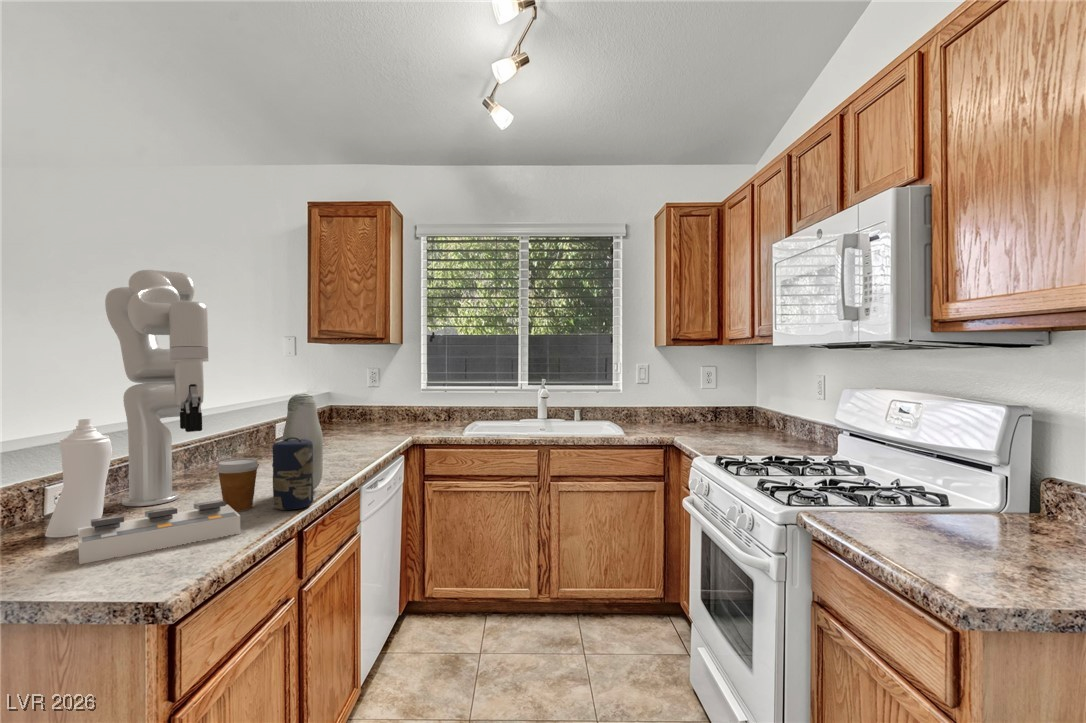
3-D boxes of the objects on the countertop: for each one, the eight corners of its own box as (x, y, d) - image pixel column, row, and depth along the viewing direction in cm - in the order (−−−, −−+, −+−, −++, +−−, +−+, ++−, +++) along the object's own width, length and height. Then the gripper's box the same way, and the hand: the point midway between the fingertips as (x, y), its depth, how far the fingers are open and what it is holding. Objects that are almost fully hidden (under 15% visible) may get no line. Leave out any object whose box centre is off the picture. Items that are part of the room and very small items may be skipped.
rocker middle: (144, 516, 119) (144, 510, 120) (172, 511, 123) (172, 506, 123) (148, 518, 114) (148, 512, 114) (177, 513, 117) (177, 508, 118)
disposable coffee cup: (207, 511, 139) (207, 463, 139) (241, 502, 148) (240, 457, 148) (235, 515, 136) (234, 466, 136) (267, 505, 145) (267, 459, 145)
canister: (287, 514, 137) (286, 441, 136) (265, 509, 142) (264, 438, 141) (321, 505, 145) (320, 436, 144) (299, 500, 150) (298, 433, 150)
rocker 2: (193, 508, 125) (193, 503, 125) (219, 504, 129) (219, 499, 129) (199, 510, 120) (199, 504, 120) (225, 505, 123) (225, 500, 123)
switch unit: (78, 547, 113) (77, 524, 113) (228, 521, 131) (227, 501, 131) (79, 564, 104) (78, 539, 104) (240, 533, 122) (240, 512, 122)
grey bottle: (296, 487, 164) (295, 392, 164) (329, 488, 163) (328, 392, 162) (276, 496, 154) (275, 395, 154) (310, 497, 153) (309, 395, 153)
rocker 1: (90, 524, 114) (90, 519, 114) (121, 519, 117) (121, 514, 117) (91, 527, 108) (91, 521, 108) (124, 521, 112) (123, 516, 112)
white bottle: (109, 520, 132) (108, 415, 132) (116, 530, 124) (115, 418, 124) (43, 531, 124) (42, 419, 124) (46, 542, 116) (45, 423, 116)
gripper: (166, 356, 133) (167, 428, 133) (173, 354, 119) (175, 434, 119) (202, 356, 138) (204, 426, 137) (214, 354, 124) (215, 431, 124)
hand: (191, 429), depth 128 cm, fingers open, 9 cm apart
